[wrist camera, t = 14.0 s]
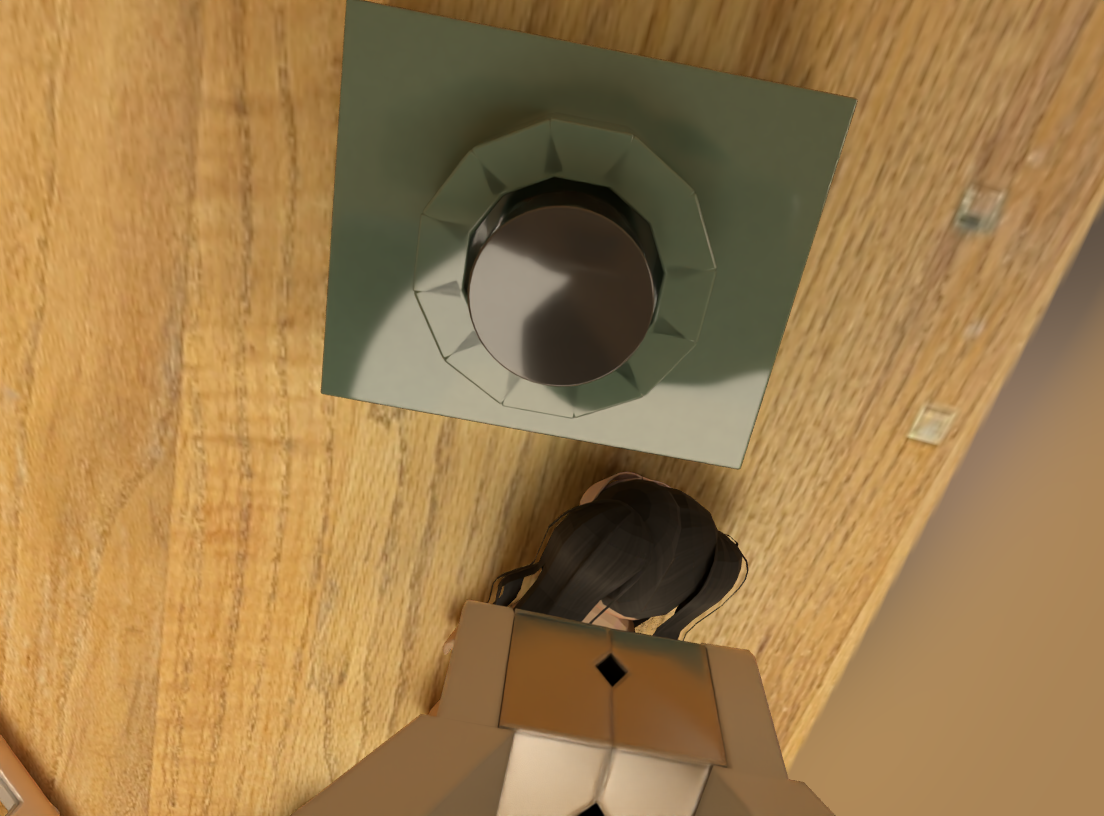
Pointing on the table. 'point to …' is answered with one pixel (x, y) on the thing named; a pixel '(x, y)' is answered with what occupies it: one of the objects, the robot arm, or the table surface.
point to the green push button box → (577, 165)
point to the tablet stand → (20, 788)
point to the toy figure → (628, 561)
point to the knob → (561, 289)
